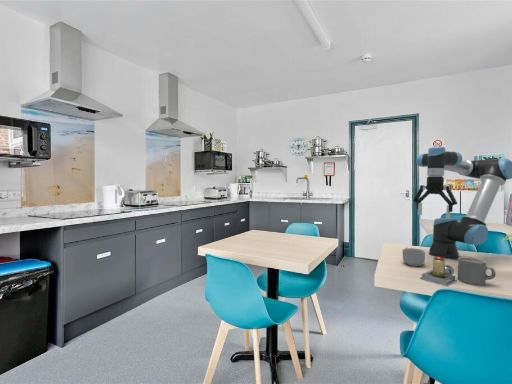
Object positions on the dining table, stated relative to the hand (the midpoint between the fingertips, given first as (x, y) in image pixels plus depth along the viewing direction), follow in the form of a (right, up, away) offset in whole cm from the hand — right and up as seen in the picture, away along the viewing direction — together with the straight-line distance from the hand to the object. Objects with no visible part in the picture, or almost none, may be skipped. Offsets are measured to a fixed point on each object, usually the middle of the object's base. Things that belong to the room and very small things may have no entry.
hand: (433, 216), depth 149 cm
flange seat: (-8, -27, -18) cm, 34 cm away
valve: (-10, -27, -19) cm, 35 cm away
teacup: (-8, -27, +5) cm, 28 cm away
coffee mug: (+5, -28, -22) cm, 36 cm away
